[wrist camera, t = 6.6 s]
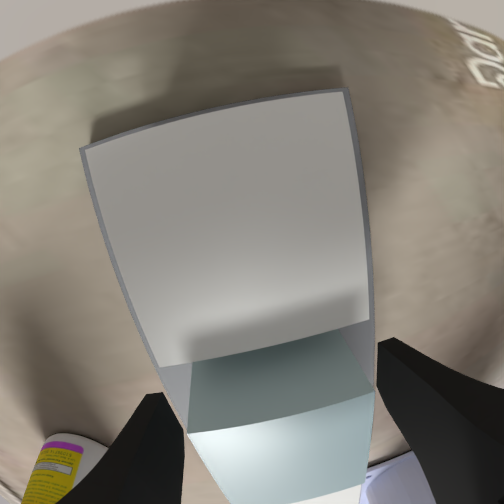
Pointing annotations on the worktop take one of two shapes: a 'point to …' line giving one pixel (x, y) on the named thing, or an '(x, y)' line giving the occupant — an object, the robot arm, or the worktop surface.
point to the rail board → (239, 232)
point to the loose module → (283, 420)
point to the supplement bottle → (61, 467)
